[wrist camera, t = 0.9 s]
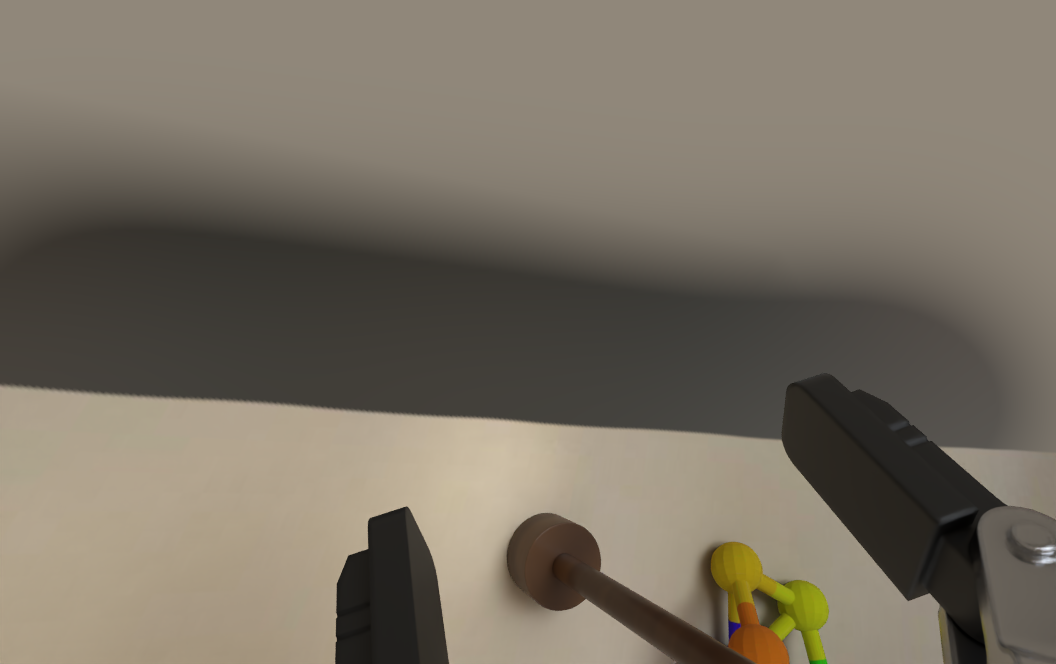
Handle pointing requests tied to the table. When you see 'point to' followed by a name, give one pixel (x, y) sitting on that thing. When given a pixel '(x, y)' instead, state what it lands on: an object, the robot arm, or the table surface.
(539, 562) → the wooden plunger
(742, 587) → the molecular model
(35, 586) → the table surface
